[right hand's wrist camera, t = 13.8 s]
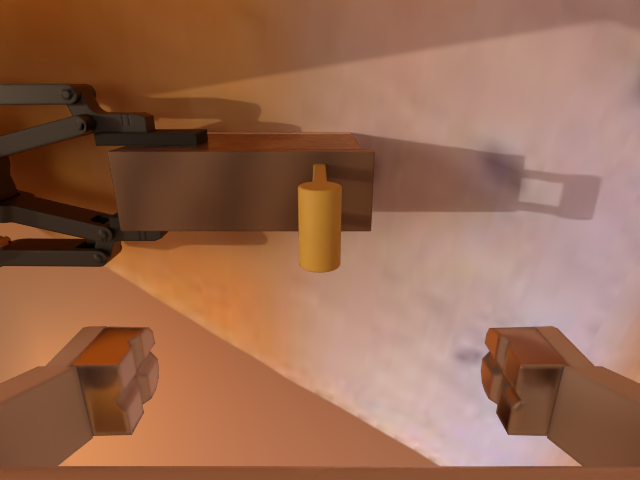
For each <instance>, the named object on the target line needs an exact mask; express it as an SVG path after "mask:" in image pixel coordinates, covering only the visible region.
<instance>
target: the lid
mask: <svg viewBox="0 0 640 480" xmlns="http://www.w3.org/2000/svg"><path fill="white" fill-rule="evenodd" d="M374 154H375V153H374V151H373V150H211V149H115V150H111V151H108V157H109V163H110V169H111V175H112V181H113V187H114V193H115V199H116V205H117V210H118V216H119V222H120V228H121V231H299V265H300V267H301V268H303V269H304V270H307V271H310V272H329V271H333V270H335V269H337V268H338V267H339V266H340V253H341V231H371V219H372V197H373V175H374Z"/></svg>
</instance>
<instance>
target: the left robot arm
mask: <svg viewBox="0 0 640 480" xmlns="http://www.w3.org/2000/svg"><path fill="white" fill-rule="evenodd" d="M95 98H96V92H95V90H94V89H93V87H92V86H90V85H88V84H0V105H63V104H67V106H68V107H69V109H70V111H71V113H72V117H68V118H65V119H61V120H57V121H54V122H50V123H46V124H43V125H39V126H35V127H32V128H28V129H25V130H21V131H17V132H14V133H10V134H6V135H3V136H0V223H8V222H13V223H18V224H23V225H27V226H31V227H36V228H40V229H45V230H49V231H53V232H58V233H62V234H67V235H71V236H75V237H80V238H84V239H18V240H14V241H11V239H10V238H9V237H7V236H5V237H2V236H0V267H2V266H84V267H85V266H86V267H101V266H104V265H105V264H107V263H108V262H109V261H110V260H111V259H113V258H114V257H115V256H116V255H117V254H119V253H120V252H121V250H122V246H121V241H156V240H158V239H161V238H162V237H163V236H164V235H165V234H166V233H167V232H168V231H121V228H120V222H119V216H118V212H117V213H116V214H114V215H110V214H106V213H102V212H97V211H93V210H89V209H84V208H80V207H76V206H72V205H67V204H63V203H59V202H54V201H50V200H46V199H42V198H37V197H35V196H34V194H31V193H27V192H23V191H19V190H17V189H16V186H15V184H14V182H13V180H12V178H11V176H10V161H9V157H8V156H10V155H14V154H18V153H22V152H25V151H28V150H32V149H36V148H39V147H43V146H47V145H51V144H54V143H58V142H62V141H65V140H69V139H73V138H77V137H80V136H84V135H88V134H91V133H94V137H95V142H96V146H128V145H199V144H201V143H203V142H205V141H208V134H207V129H155V125H154V117H153V115H150V114H148V113H111V112H106V111H104V110H103V109H102V108H101V107H100V106H99V105H98V103H97V101H96V99H95Z"/></svg>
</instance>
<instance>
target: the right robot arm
mask: <svg viewBox="0 0 640 480" xmlns="http://www.w3.org/2000/svg"><path fill="white" fill-rule="evenodd" d="M154 344H155V340H154V335H153V331H152V330H151V329H150V328H149V327H106V326H97V327H85V328H82V330H81V331H80V332H79V333H78V334H77V335H76V336H75V337H74V338H73V339H72V340H71V341H70V342H69V343H68V344H67V345H66V346H65V347H64V348H63V349H62V350H61V351H60V352H59V353H58V354H57V355H56V356H55V357H54V358H53V359H52V360H51V361H50V362H49V363H48V364H47V365H46V366H44V367H36V368H34V369H31V370H29V371H27V372H25V373H23V374H20V375H18V376H16V377H14V378H12V379H9V380H7V381H5V382H3V383H1V384H0V480H640V384H639V383H637V382H635V381H633V380H631V379H628V378H626V377H624V376H622V375H620V374H617V373H615V372H613V371H611V370H609V369H606V368H604V367H597V366H594V365H593V364H592V363H591V362H590V361H589V360H588V359H587V358H586V357H585V356H584V355H583V354H582V353H581V352H580V351H579V350H578V349H577V348H576V347H575V346H574V345H573V344H572V343H571V342H570V341H569V340H568V339H567V337H566V336H565V335H564V334H563V333H562V332H561V331H560V330H559V329H558V328H555V327H553V326H543V327H512V328H489V330H488V332H487V334H486V339H485V344H486V346H487V347H488V349H489V353H488V354H487V355H486V356H485V357H484V358H483V359H482V366H481V377H482V384H483V387H484V390H485V393H486V394H487V396H488V398H489V399H490V400H491V401H493V402H494V403H496V404H497V410H496V413H497V415H498V417H499V419H500V421H501V422H502V424H503V426H504V428H505V430H506V432H507V433H508V435H532V436H547V438H548V439H549V440H551V441H552V442H553V443H554V444H556V445H557V446H558V447H559V448H561V449H562V450H563V451H564V452H566V453H567V454H568V455H569V456H571V457H572V458H573V459H574V460H576V461H577V462H578V463H580V464H581V465H582V466H58V465H59V464H61V463H62V462H63V461H64V460H66V459H67V458H68V457H69V456H71V455H72V454H73V453H74V452H76V451H77V450H78V449H79V448H81V447H82V446H83V445H85V444H86V443H87V442H88V441H90V440H91V439H92V438H93V436H107V435H132V433H133V432H134V430H135V428H136V426H137V424H138V422H139V420H140V419H141V417H142V415H143V413H144V410H143V404H144V403H146V402H147V401H149V400H150V399H151V398H152V396H153V394H154V392H155V390H156V387H157V383H158V379H159V365H158V359H157V358H156V357H155V356H154V355H153V354H152V353H151V349H152V347H153V346H154Z"/></svg>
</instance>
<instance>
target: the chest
mask: <svg viewBox="0 0 640 480" xmlns="http://www.w3.org/2000/svg"><path fill="white" fill-rule="evenodd" d="M207 134H208V141H205V142H203V143H201V144H199V145H128V146H125V147H121V148H118V149H211V150H362V149H361V148H360V146H359V145H358V143H357V142H356V140H355V139H354V137H353V136H352V134H351V132H207Z"/></svg>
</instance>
